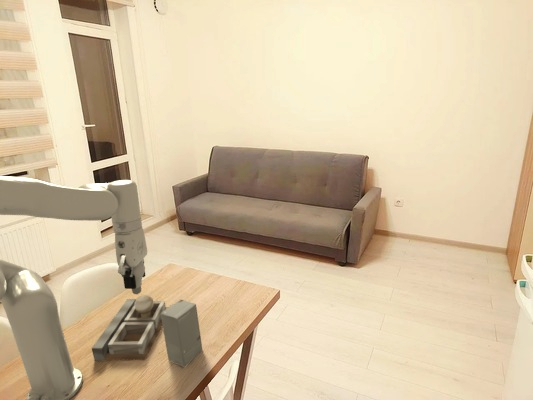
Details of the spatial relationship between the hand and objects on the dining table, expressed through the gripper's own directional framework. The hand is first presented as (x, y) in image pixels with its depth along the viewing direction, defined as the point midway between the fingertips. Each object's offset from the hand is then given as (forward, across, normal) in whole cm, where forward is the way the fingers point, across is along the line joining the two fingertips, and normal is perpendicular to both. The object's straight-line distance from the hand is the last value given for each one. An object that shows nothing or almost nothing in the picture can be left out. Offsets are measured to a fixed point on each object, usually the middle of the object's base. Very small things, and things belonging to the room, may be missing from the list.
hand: (135, 281), depth 99 cm
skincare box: (+21, -6, -15) cm, 26 cm away
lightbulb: (+4, 0, 0) cm, 4 cm away
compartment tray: (+21, +4, +4) cm, 22 cm away
